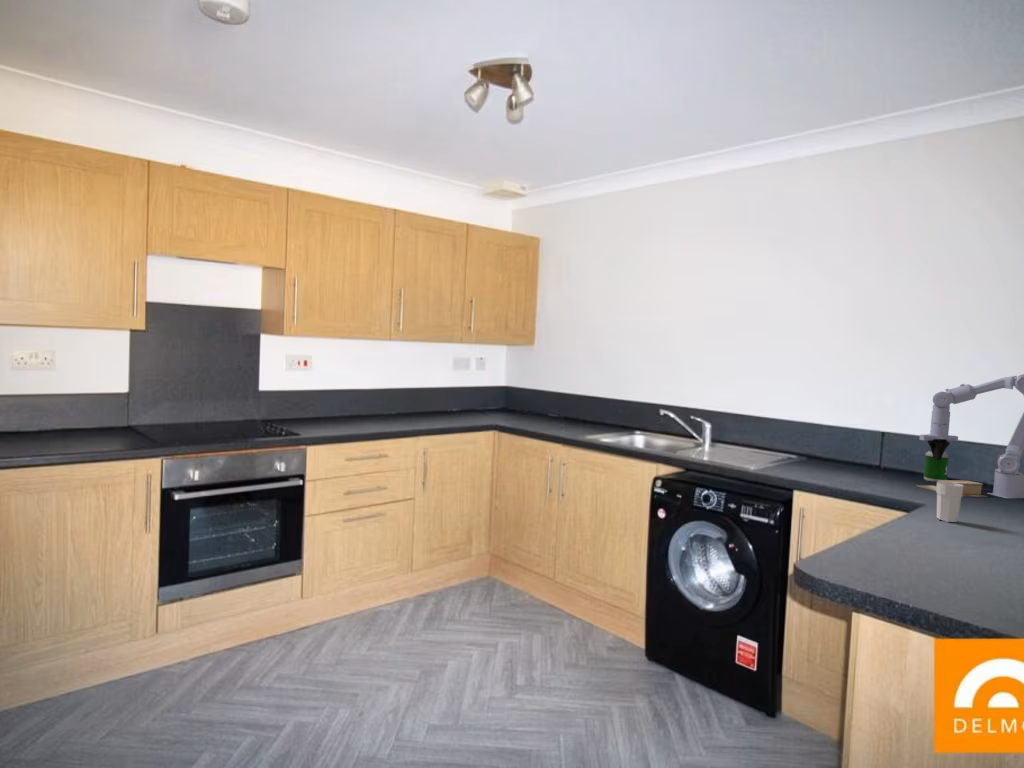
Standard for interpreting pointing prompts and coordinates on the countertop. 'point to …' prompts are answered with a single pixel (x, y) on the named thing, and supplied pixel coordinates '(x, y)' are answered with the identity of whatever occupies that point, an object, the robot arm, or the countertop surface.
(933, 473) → the soda can
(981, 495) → the board
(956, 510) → the cup
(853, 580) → the countertop surface
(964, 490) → the parcel box
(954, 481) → the lid flap
